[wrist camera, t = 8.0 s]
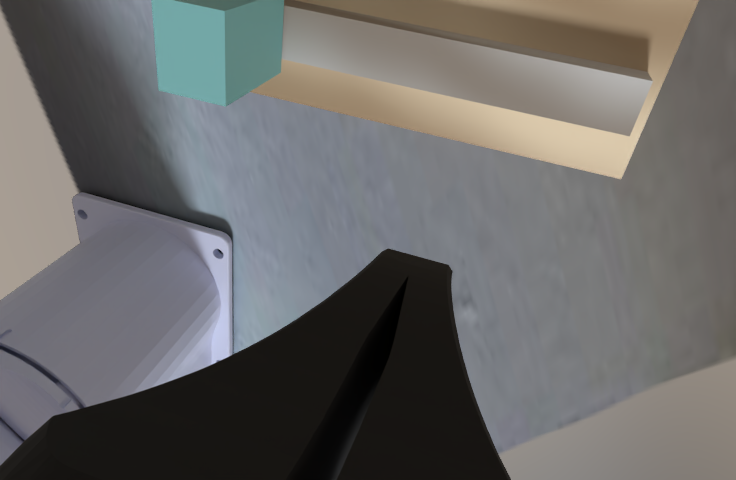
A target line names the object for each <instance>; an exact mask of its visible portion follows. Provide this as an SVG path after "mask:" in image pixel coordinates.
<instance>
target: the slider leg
mask: <svg viewBox="0 0 736 480" xmlns="http://www.w3.org/2000/svg"><path fill="white" fill-rule="evenodd" d="M151 1H152V14H153V27H154V39H155V52H156V64H157V77H158V89H159V91H164V92H168V93H172V94H176V95H180V96H184V97H188V98H193V99H197V100H201V101H205V102H209V103H213V104H217V105H221V106H227V105H229V104H231V103H232V102H234V101H235V100H237V99H239V98H240V97H242V96H244V95H245V94H247V93H248V92H250V91H252V90H253V89H255V88H257V87H258V86H260V85H262V84H263V83H265V82H266V81H268V80H270V79H271V78H273V77H275V76H276V75H278V74H279V73H281V59H282V37H283V15H284V0H151Z"/></svg>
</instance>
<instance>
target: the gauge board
mask: <svg viewBox="0 0 736 480" xmlns="http://www.w3.org/2000/svg"><path fill="white" fill-rule="evenodd" d="M698 1H699V0H284V15H283V37H282V59H281V73H279V74H278V75H276V76H275V77H273V78H271V79H270V80H268V81H266V82H265V83H263V84H262V85H260V86H258V87H257V88H255V89H253V90H252V91H250V92H253V93H257V94H261V95H265V96H270V97H274V98H278V99H282V100H287V101H291V102H295V103H299V104H304V105H308V106H312V107H316V108H321V109H325V110H329V111H333V112H338V113H342V114H346V115H350V116H355V117H359V118H363V119H367V120H372V121H376V122H380V123H384V124H389V125H393V126H397V127H401V128H406V129H410V130H414V131H418V132H423V133H427V134H431V135H435V136H440V137H444V138H448V139H452V140H457V141H461V142H465V143H469V144H474V145H478V146H482V147H486V148H491V149H495V150H499V151H503V152H508V153H512V154H516V155H520V156H525V157H529V158H533V159H537V160H542V161H546V162H550V163H554V164H559V165H563V166H567V167H571V168H576V169H580V170H584V171H588V172H593V173H597V174H601V175H605V176H610V177H614V178H618V179H622V176H623V174H624V172H625V169H626V167H627V165H628V162H629V160H630V158H631V155H632V153H633V151H634V149H635V146H636V144H637V142H638V139H639V137H640V135H641V132H642V130H643V128H644V126H645V123H646V121H647V119H648V116H649V114H650V112H651V109H652V107H653V105H654V102H655V100H656V98H657V96H658V93H659V91H660V89H661V86H662V84H663V82H664V79H665V77H666V75H667V73H668V70H669V68H670V66H671V63H672V61H673V59H674V56H675V54H676V52H677V49H678V47H679V45H680V43H681V40H682V38H683V36H684V33H685V31H686V29H687V26H688V24H689V22H690V20H691V17H692V15H693V13H694V10H695V8H696V6H697V3H698Z"/></svg>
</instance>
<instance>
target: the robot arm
mask: <svg viewBox="0 0 736 480" xmlns="http://www.w3.org/2000/svg"><path fill="white" fill-rule="evenodd" d="M72 203H73V208H74V213H75V219H76V224H77V229H78V235H79V240H80V244H78V245H77V246H76V247H74V248H73V249H71V250H70V251H69V252H67V253H66V254H64V255H63V256H62V257H60V258H59V259H58V260H56V261H55V262H53V263H52V264H51V265H49V266H48V267H46V268H45V269H43V270H42V271H40V272H39V273H38V274H36V275H35V276H33V277H32V278H31V279H30V280H28V281H27V282H25V283H24V284H22V285H21V286H19V287H18V288H17V289H15V290H14V291H12V292H11V293H10V294H8V295H7V296H6V297H4V298H3V299H1V300H0V480H511V479H510V477H509V475H508V473H507V471H506V469H505V467H504V465H503V463H502V461H501V459H500V457H499V455H498V453H497V451H496V448H495V446H494V444H493V441H492V439H491V437H490V434H489V432H488V430H487V427H486V425H485V423H484V420H483V417H482V415H481V412H480V409H479V407H478V404H477V402H476V399H475V396H474V393H473V390H472V387H471V384H470V381H469V377H468V374H467V370H466V367H465V363H464V360H463V356H462V352H461V348H460V344H459V339H458V334H457V329H456V324H455V318H454V312H453V303H452V292H451V278H452V270H451V268H450V267H449V265H446V264H443V263H439V262H435V261H432V260H428V259H424V258H421V257H417V256H413V255H410V254H406V253H402V252H399V251H395V250H391V249H386V250H384V251H382V252H381V253H380V254H379V255H378V256H377V257H376V258H375V259H374V260H373V261H372V262H371V263H370V264H369V265H367V266H366V267H365V268H364V269H363V270H362V271H361V272H359V273H358V274H357V275H356V276H355V277H354V278H352V279H351V280H350V281H349V282H347V283H346V284H345V285H344V286H342V287H341V288H340V289H338V290H337V291H336V292H335V293H333V294H332V295H331V296H329V297H328V298H327V299H325V300H324V301H323V302H321V303H320V304H318V305H317V306H315V307H314V308H312V309H311V310H310V311H308V312H307V313H305V314H304V315H302V316H301V317H299V318H298V319H296V320H295V321H293V322H292V323H290V324H288V325H287V326H285V327H283V328H282V329H280V330H279V331H277V332H275V333H273V334H272V335H270V336H268V337H266V338H264V339H263V340H261V341H259V342H257V343H255V344H253V345H251V346H250V347H248V348H246V349H243V350H241V351H239V352H237V353H235V354H233V324H232V241H231V239H230V237H229V236H228V235H227V234H226V233H224V232H222V231H218V230H215V229H211V228H208V227H204V226H201V225H197V224H193V223H190V222H186V221H183V220H179V219H176V218H172V217H169V216H165V215H162V214H158V213H155V212H151V211H148V210H144V209H140V208H137V207H133V206H130V205H126V204H123V203H119V202H116V201H112V200H109V199H105V198H102V197H98V196H95V195H91V194H87V193H83V192H81V193H79V194H77V195H75V196H74V197H73V199H72ZM84 211H85V212H86V213H87V214H86V213H85V212H84ZM218 249H219V250H221V251H222V252H223V254H221V253H220V252H219V251H218Z"/></svg>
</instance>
